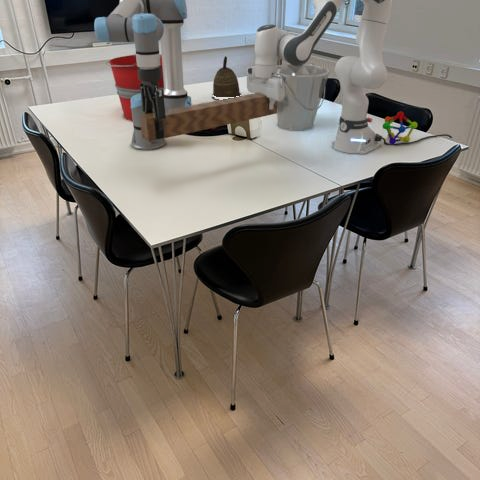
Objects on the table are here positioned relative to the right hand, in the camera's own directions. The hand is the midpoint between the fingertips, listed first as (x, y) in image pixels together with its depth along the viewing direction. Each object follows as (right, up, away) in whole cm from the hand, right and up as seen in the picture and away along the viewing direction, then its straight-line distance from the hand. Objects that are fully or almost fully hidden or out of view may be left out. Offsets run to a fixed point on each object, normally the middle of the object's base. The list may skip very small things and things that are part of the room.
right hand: (264, 106), depth 180 cm
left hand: (-40, -17, -22) cm, 49 cm away
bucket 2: (+19, +6, +54) cm, 57 cm away
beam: (-20, -10, -10) cm, 25 cm away
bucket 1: (-63, +16, +68) cm, 94 cm away
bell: (-19, +37, +102) cm, 110 cm away
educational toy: (+64, -8, +31) cm, 72 cm away
